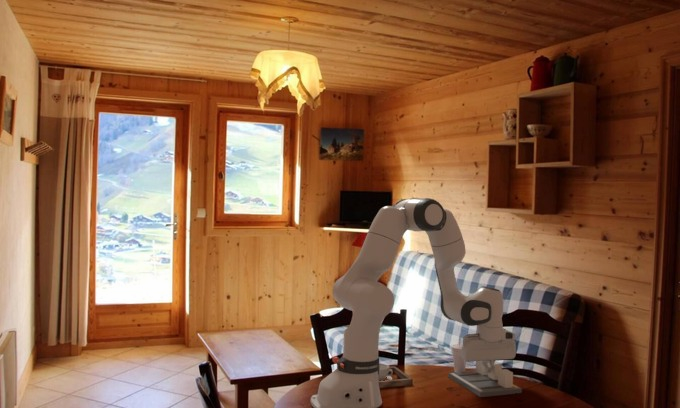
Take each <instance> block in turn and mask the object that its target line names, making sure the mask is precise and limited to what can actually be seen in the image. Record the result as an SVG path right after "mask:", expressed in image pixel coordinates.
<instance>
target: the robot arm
mask: <svg viewBox="0 0 680 408" xmlns="http://www.w3.org/2000/svg"><path fill="white" fill-rule="evenodd" d="M407 231H412V232H425V233H426V236H427V237H428V240H429V244H430V247H431V251H432V254H433V258H434V268H435V272H436V273H435V274H436V278H437V281H438V282H437V283H438V287H439V290H440V311H441V313H442V315H443V317H444V318H446V319H448V320H450V321H455V322H458V323H460V324H462V325H465V326H471V327H475V326H476V329H475V330H476V333H467V334H466V335H464V337H463V338H462V345H463V346H462V352H461V357H462V359H463V360H465V361H466V363H467V362H476V361H482V363H483V365H484V367H485V370H484V371H485V372H486V373H491V368H492V366H493V365H494V363H495V362H496V360H513V359H515V358H516V355H517V354H516V352H517V351H516V350H517V348H516V347H517V345H516V344H517V343H516V340H515V338H516V333H514V332H513V331H511V330H508V329H506V328H504V327H503V319H502V318H503V315H504V298H503V294H502V291H501V290H500V289H498V288H494V287H490V286H482V285H481V286H480V288H478V290H476V291H475V292H473V293H472V294H470V295H465V294H463V293H462V292H461V291H460V290H459V288H458V284H457V279H456V274H455V267H456V266H457V265H458V264H460V263H461V262H462V261H463V259H464V257H465V255H466V244H465V240H464V238H463V234H462V231H461V229H460V226H459V224H458V222H457V220H456V218H455V216H454V214H453V213H452V211H450V210H449V209H446V208H444V207H443V205H442V204H441V203H440V202H439V201H437V200H436V199H433V198H429V197H425V198H423V197H422V198H421V197H420V198H419V197H411V198H403V199H400V200H398V201H396V202H395V203H394V204H393V205H385V206H383V207H381V208H380V209H379V210H378V212H377V214H376V215H375V216H374V218H373V220H372V222H371V225H370V227H369V229H368V231H367V234H366V236H365V239H364V241H363V244H362V245H361V249H360V251H359V253H358V255H357V257H356V259H355V260H354V262H353V263H352V265H351V266H350V267H349V269H348V270H347V271H346V272H345V274H344V275H342V276H341V277H339V278H338V279H337V280H336V281H335V283H334V284H333V286H332V287H333V288H332V297H333V299H334V300H335V302H336V303H337V304H338V305H339V306H341V307H342V308H344V309H346V310H348V311H352V317H351V321H350V324H349V326H348V327H347V328H345V329H344V332H343V346H342V347H343V348H342V349H343V350H342V352H343V353H342V355H341V357H340V358H339V357H338V356H336V355H335V356H333V357H332V362H333V363H334V364H335V365H336V369H334V370H333V371H332V372H330V374H328V375H327V376H326V377H324V378H323V379H322V380H321V381H320V383H319V385H318V390H317V394H312V396H311V397H310V400H309V401H310V405H311V406H312V407H313V408H379V407H381V406H382V404H383V401H382V400H383V399H382V396H381V390H380V389H381V388H379V380H378V375H379V369H380V357H379V343H380V340H379V339H380V333H381V328H382V324H383V321H384V319H385V318H386V317H387V316H388V315H389V314H390V313H391V311H392V310H393V308H394V303H395V296H394V293H393V291H392V290H391V289H390V287H387V286H386V285H385V284H384V283H381V282H380V281H379V279H380V278H381V276H382V275H384V274H385V273H386V272H388V271H389V270H391V268H392V267H393V264H394V262H395V259H396V256H397V254H398V250H399V247H400V245H401V242H402V241H403V240H402V239H403V237H404V235H405V233H406V232H407ZM487 363H488V364H487Z"/></svg>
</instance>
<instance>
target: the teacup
mask: <svg viewBox="0 0 680 408" xmlns="http://www.w3.org/2000/svg"><path fill="white" fill-rule="evenodd" d="M379 363H380V362H379ZM389 367H390V366H389V365H388V364H385V363H380V369H379V375H378V380H381V381H383V380H384V379H385V378H386V377H387V380H393V377H392V376H393V374H394V373H393V371H392V370H391V369H389ZM389 371H391V372H392V373H388V372H389ZM385 381H386V380H385Z"/></svg>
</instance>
